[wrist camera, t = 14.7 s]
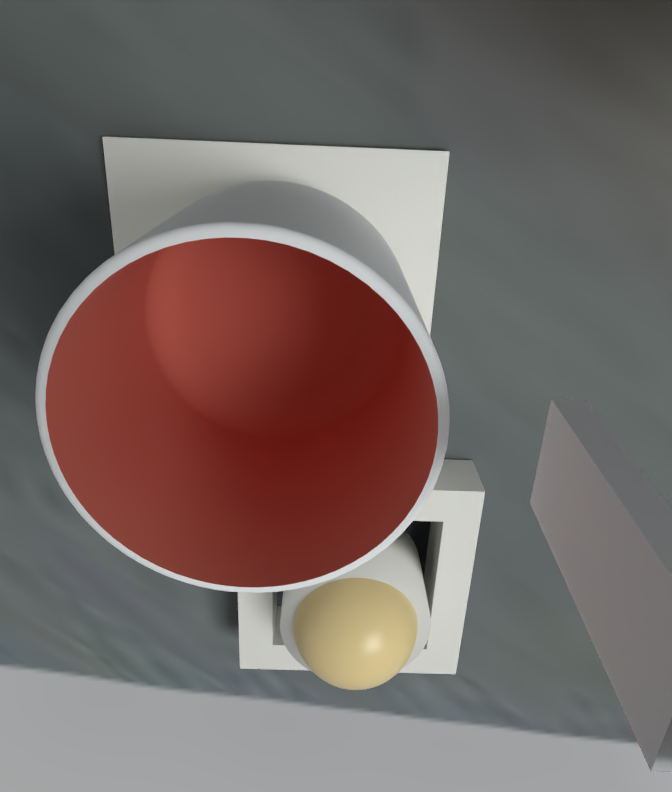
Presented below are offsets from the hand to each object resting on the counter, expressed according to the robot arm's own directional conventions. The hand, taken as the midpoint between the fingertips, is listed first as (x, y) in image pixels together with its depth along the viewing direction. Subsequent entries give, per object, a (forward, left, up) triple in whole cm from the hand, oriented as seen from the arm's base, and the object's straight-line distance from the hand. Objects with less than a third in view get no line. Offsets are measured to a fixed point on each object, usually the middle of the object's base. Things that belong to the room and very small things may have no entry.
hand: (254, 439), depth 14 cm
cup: (0, 0, -11) cm, 11 cm away
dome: (+12, +3, -10) cm, 16 cm away
